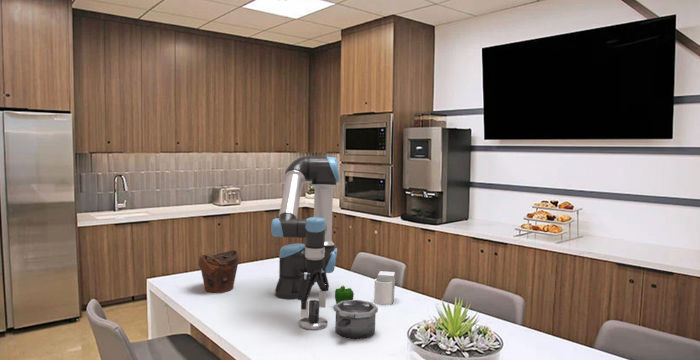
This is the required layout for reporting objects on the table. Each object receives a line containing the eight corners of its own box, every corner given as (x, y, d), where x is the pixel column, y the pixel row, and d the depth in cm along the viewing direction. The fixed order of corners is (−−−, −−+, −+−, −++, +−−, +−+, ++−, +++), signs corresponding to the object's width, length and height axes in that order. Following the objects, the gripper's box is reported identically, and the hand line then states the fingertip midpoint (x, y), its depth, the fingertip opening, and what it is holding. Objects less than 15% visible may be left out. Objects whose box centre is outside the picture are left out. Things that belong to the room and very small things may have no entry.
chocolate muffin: (188, 291, 221) (189, 253, 220) (216, 281, 240) (216, 246, 239) (220, 298, 215) (221, 258, 213) (245, 286, 233) (246, 250, 232)
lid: (293, 326, 182) (294, 303, 182) (307, 318, 192) (308, 295, 192) (319, 332, 178) (320, 307, 177) (332, 323, 188) (333, 300, 187)
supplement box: (392, 303, 212) (393, 276, 211) (376, 302, 214) (377, 274, 213) (394, 298, 219) (395, 271, 218) (378, 297, 221) (379, 270, 220)
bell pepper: (343, 302, 212) (344, 280, 211) (357, 307, 206) (357, 285, 205) (329, 306, 206) (330, 284, 205) (343, 312, 200) (343, 288, 200)
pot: (321, 338, 172) (322, 312, 171) (350, 317, 194) (350, 294, 193) (360, 347, 166) (361, 320, 165) (385, 324, 187) (386, 301, 186)
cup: (400, 299, 218) (400, 278, 218) (385, 306, 209) (386, 283, 208) (385, 296, 223) (385, 275, 223) (370, 302, 214) (371, 280, 213)
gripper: (306, 265, 170) (305, 323, 172) (338, 253, 193) (336, 304, 194) (288, 263, 174) (287, 320, 175) (322, 251, 196) (320, 301, 197)
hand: (313, 312), depth 184 cm, fingers open, 13 cm apart
